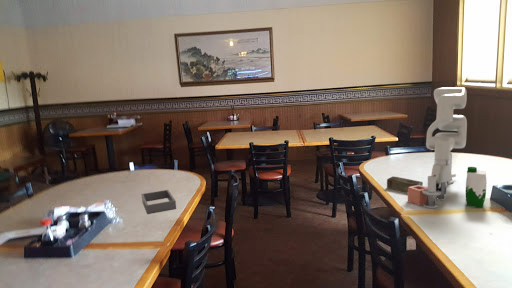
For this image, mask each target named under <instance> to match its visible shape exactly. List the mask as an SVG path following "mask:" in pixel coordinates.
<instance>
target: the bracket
mask: <svg viewBox="0 0 512 288" xmlns="http://www.w3.org/2000/svg"><path fill="white" fill-rule="evenodd" d="M424 189H425V190H424ZM426 189H427V186H424V185H422V186H421V185H416V186H411V187H408V192H407V202H410V203H412V204H415V205H418V206H422V205H423V206H424V204H425V203H427V195H425V194H423V193H422V190H424V191H427V190H426Z"/></svg>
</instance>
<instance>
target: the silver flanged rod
mask: <svg viewBox="0 0 512 288" xmlns="http://www.w3.org/2000/svg"><path fill="white" fill-rule="evenodd" d="M426 187H427V189H426V190H427V191H424V190H425V189H424V190H422V193H423V194H425V195H427V203H425V204H423V206H424V207H425V208H427V209H428V208H429V209H437V208H438V207H439V205H438V204H436V199H437V198H436V196H438V195H441V191H439V190H436V176H431V175H428V176H427V186H426Z"/></svg>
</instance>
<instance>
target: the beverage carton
mask: <svg viewBox="0 0 512 288" xmlns="http://www.w3.org/2000/svg"><path fill="white" fill-rule="evenodd" d="M416 185H421V186H424V185H423V181H419V180H415V179H414V180H413V179H409V178H404V177H399V176H391V177H389V178H387V179H386V188H387V189H390V190H391V189H392V190H396V191H400V192H404V191H405V192H404V193H408V187H411V186H416Z"/></svg>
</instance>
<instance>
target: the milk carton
mask: <svg viewBox="0 0 512 288" xmlns="http://www.w3.org/2000/svg"><path fill="white" fill-rule="evenodd" d="M486 196H487V173H486V170H480V169H478V168H477V167H476V166H467V171H466V181H465V202H466V203H465V204H466V207H471V208H479V209H483V207H484V204H485V200H486Z"/></svg>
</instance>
